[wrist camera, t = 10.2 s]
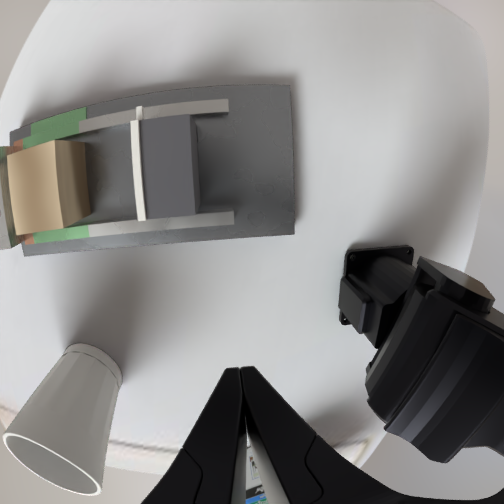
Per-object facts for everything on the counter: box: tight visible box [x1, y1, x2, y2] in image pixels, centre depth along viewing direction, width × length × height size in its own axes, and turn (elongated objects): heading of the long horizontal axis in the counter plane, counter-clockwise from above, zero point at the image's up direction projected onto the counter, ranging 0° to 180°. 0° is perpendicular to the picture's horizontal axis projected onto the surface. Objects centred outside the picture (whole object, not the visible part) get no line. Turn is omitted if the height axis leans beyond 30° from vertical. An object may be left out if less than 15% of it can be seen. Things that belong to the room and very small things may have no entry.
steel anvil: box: [0, 146, 25, 250], centre depth 15 cm, size 2×7×3 cm, turn 2°
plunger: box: [130, 106, 201, 221], centre depth 15 cm, size 3×6×4 cm, turn 3°
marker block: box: [7, 140, 91, 235], centre depth 14 cm, size 4×5×4 cm
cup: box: [3, 343, 122, 495], centre depth 17 cm, size 8×8×12 cm
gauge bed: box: [10, 85, 294, 257], centre depth 17 cm, size 21×10×2 cm, turn 92°
